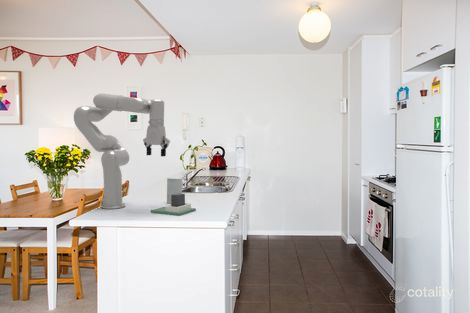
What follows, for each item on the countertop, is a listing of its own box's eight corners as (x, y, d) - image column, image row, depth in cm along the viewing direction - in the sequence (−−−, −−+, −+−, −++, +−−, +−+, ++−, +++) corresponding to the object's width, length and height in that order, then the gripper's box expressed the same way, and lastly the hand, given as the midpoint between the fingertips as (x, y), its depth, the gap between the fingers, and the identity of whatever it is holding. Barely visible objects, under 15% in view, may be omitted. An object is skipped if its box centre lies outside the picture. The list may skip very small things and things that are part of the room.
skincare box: (166, 204, 217) (166, 178, 216) (168, 202, 223) (167, 177, 222) (181, 203, 217) (180, 178, 216) (182, 201, 223) (182, 176, 222)
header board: (150, 212, 192) (150, 205, 192) (168, 207, 205) (167, 201, 204) (179, 215, 184) (179, 208, 184) (195, 210, 196) (195, 203, 196)
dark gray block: (171, 210, 191) (171, 194, 191) (179, 208, 197) (179, 193, 197) (177, 211, 189) (177, 195, 189) (185, 208, 195) (185, 193, 195)
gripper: (139, 122, 199) (138, 155, 201) (165, 123, 191) (164, 157, 192) (148, 123, 206) (148, 154, 207) (174, 123, 198) (173, 156, 199)
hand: (156, 155), depth 200 cm, fingers open, 9 cm apart
